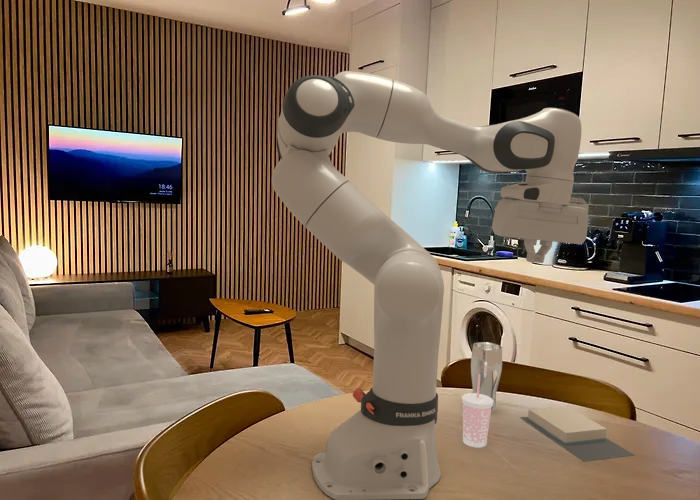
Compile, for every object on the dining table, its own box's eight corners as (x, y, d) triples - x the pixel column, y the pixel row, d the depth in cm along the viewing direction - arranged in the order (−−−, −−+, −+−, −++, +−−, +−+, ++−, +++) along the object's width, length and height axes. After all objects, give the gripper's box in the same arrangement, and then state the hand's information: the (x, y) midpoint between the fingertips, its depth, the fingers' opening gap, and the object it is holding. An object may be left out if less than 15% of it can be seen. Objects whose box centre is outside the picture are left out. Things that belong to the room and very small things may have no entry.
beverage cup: (466, 450, 100) (471, 379, 98) (454, 436, 106) (458, 369, 104) (495, 448, 101) (501, 379, 100) (481, 434, 107) (486, 368, 106)
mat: (583, 463, 96) (583, 461, 96) (519, 419, 116) (519, 417, 115) (634, 457, 100) (635, 455, 100) (564, 415, 119) (564, 413, 119)
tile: (565, 433, 103) (528, 409, 114) (564, 445, 103) (527, 420, 114) (606, 428, 106) (566, 405, 117) (605, 440, 106) (565, 416, 117)
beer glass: (502, 415, 117) (507, 350, 116) (471, 413, 117) (476, 349, 116) (494, 403, 124) (498, 342, 123) (465, 402, 124) (469, 341, 123)
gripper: (578, 198, 108) (566, 262, 110) (494, 187, 102) (482, 255, 104) (601, 200, 102) (587, 268, 104) (512, 188, 96) (500, 261, 98)
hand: (534, 262), depth 104 cm, fingers closed
